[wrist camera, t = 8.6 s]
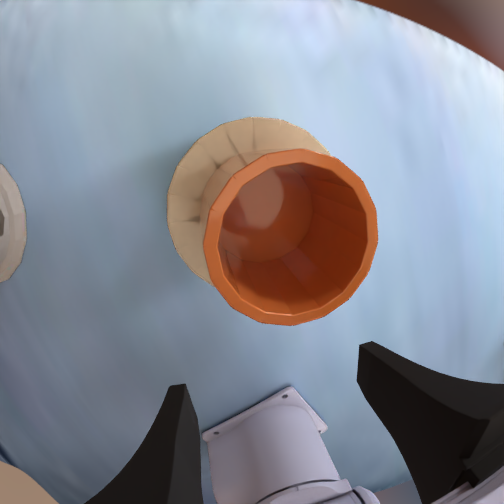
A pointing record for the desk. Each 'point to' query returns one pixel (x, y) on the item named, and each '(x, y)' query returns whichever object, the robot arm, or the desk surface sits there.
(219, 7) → the desk surface
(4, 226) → the french press
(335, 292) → the cup
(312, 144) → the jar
